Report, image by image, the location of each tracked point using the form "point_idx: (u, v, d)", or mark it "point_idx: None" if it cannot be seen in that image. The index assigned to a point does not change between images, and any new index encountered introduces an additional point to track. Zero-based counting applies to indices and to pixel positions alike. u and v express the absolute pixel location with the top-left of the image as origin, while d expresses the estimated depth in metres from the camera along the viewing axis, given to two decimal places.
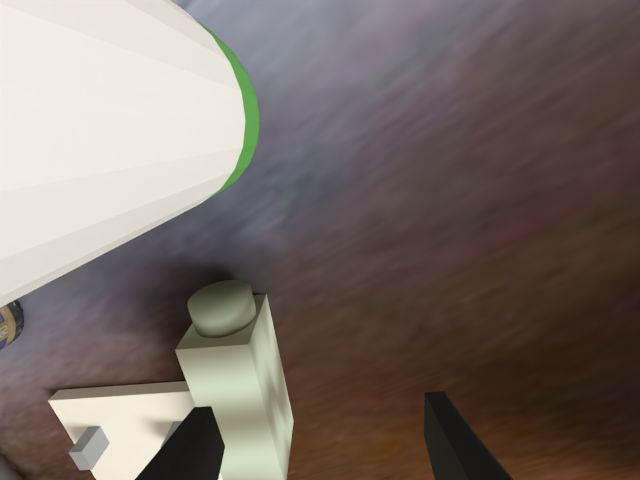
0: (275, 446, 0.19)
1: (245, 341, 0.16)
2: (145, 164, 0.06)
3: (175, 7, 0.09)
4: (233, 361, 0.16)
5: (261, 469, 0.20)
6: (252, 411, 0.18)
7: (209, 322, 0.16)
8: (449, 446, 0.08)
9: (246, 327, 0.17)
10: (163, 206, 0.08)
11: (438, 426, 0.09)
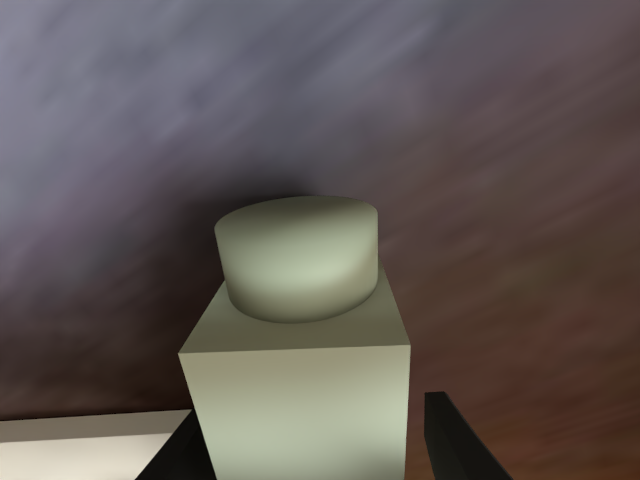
0: None
1: (394, 334, 0.05)
2: None
3: None
4: (350, 393, 0.06)
5: None
6: None
7: (285, 275, 0.06)
8: (449, 446, 0.08)
9: (370, 298, 0.07)
10: None
11: (438, 426, 0.09)
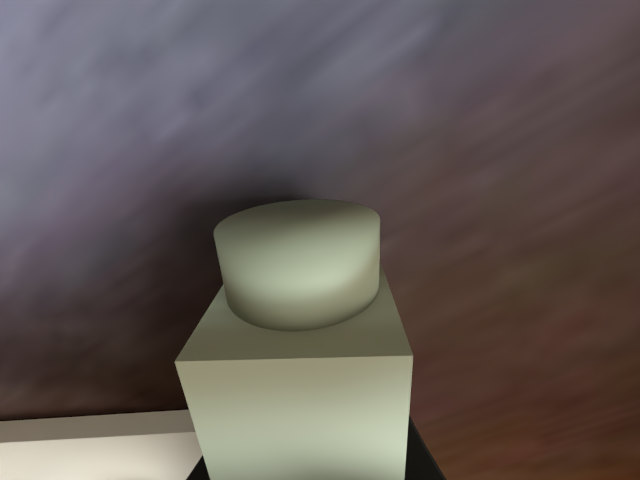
0: None
1: (396, 344, 0.05)
2: None
3: None
4: (350, 403, 0.05)
5: None
6: None
7: (285, 282, 0.05)
8: None
9: (371, 305, 0.06)
10: None
11: None
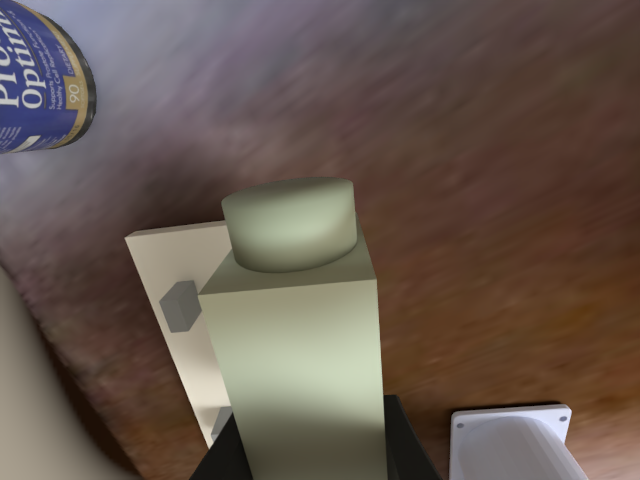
0: None
1: (365, 273, 0.07)
2: None
3: None
4: (333, 323, 0.07)
5: None
6: (356, 437, 0.08)
7: (277, 232, 0.07)
8: (389, 449, 0.08)
9: (349, 253, 0.08)
10: None
11: None
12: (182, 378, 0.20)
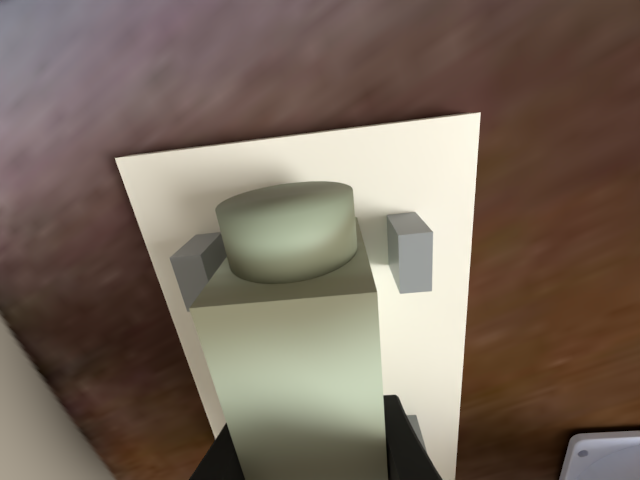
0: None
1: (365, 286, 0.07)
2: None
3: None
4: (332, 337, 0.07)
5: None
6: (356, 452, 0.08)
7: (273, 242, 0.07)
8: (389, 449, 0.08)
9: (348, 263, 0.08)
10: None
11: None
12: (197, 383, 0.14)
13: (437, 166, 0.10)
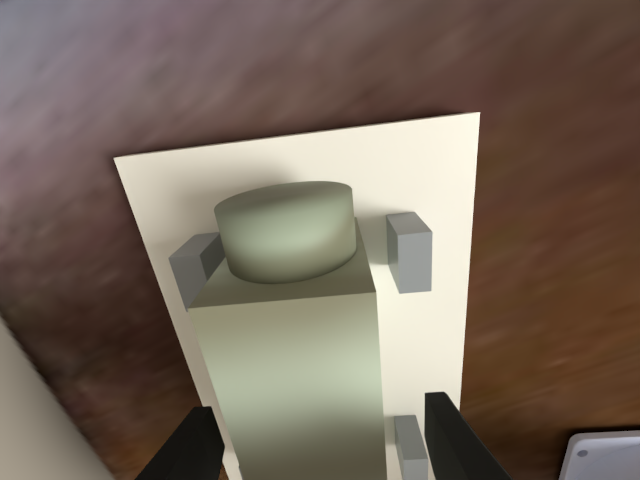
0: None
1: (364, 286, 0.07)
2: None
3: None
4: (331, 337, 0.07)
5: None
6: (355, 453, 0.08)
7: (272, 242, 0.07)
8: (449, 446, 0.08)
9: (348, 263, 0.08)
10: None
11: (438, 426, 0.09)
12: (196, 383, 0.14)
13: (436, 166, 0.10)
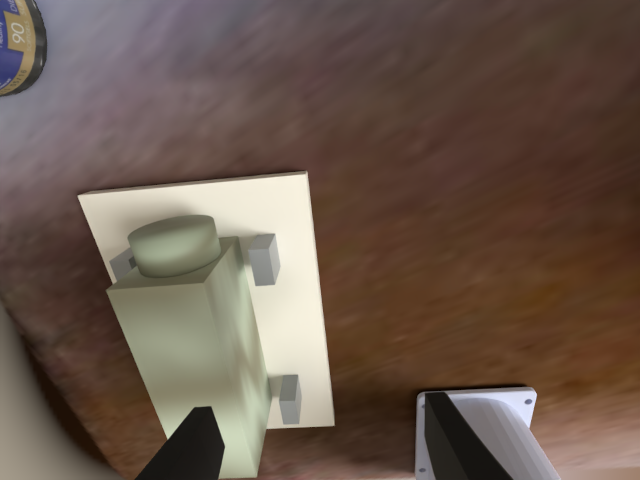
0: (243, 424, 0.15)
1: (200, 280, 0.12)
2: None
3: None
4: (184, 307, 0.12)
5: (226, 453, 0.16)
6: (212, 377, 0.14)
7: (153, 255, 0.12)
8: (449, 446, 0.08)
9: (204, 267, 0.13)
10: None
11: (438, 426, 0.09)
12: None
13: (284, 205, 0.16)
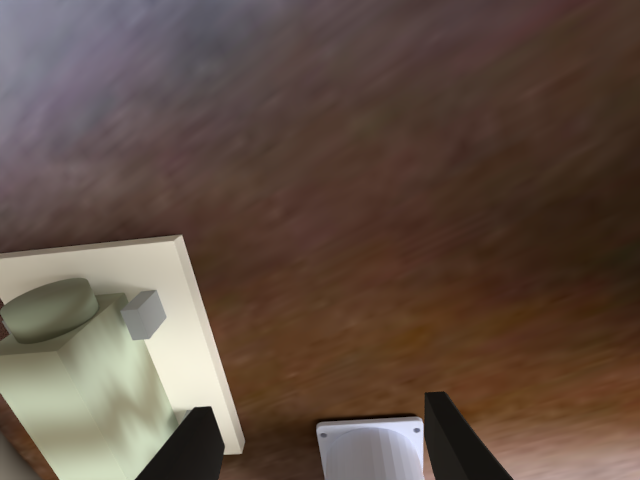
0: (121, 463, 0.17)
1: (57, 347, 0.14)
2: None
3: None
4: (45, 370, 0.14)
5: None
6: (83, 426, 0.16)
7: (18, 326, 0.14)
8: (449, 446, 0.08)
9: (71, 331, 0.15)
10: None
11: (438, 426, 0.09)
12: None
13: (160, 266, 0.18)
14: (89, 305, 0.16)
